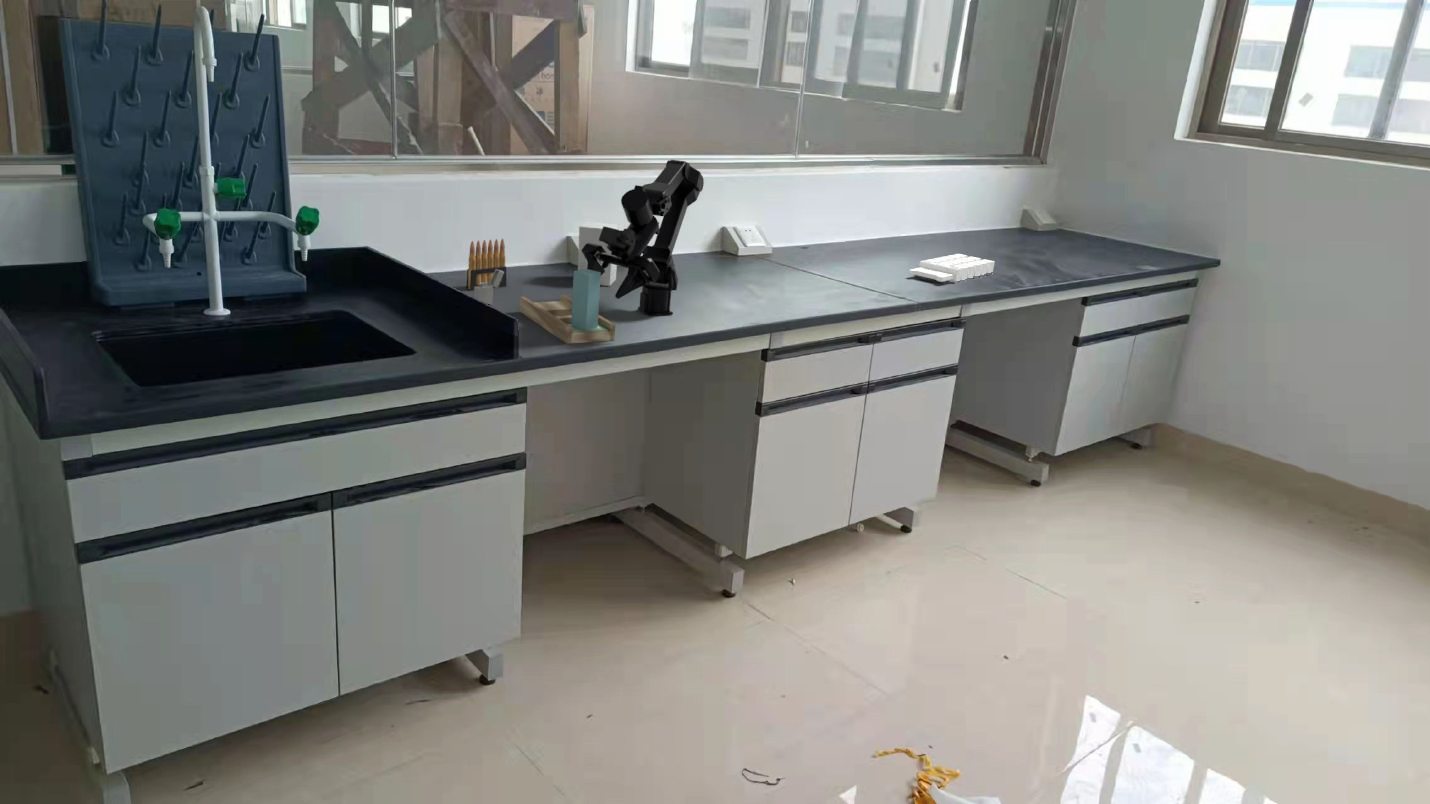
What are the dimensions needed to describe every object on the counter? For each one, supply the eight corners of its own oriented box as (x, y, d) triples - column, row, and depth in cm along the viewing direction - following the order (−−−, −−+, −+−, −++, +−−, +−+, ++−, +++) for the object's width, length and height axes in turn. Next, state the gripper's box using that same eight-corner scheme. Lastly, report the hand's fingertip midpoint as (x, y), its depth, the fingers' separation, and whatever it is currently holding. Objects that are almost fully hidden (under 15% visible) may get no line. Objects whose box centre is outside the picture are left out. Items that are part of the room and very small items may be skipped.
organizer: (994, 261, 326) (945, 272, 300) (992, 275, 328) (942, 288, 301) (958, 253, 334) (907, 263, 307) (955, 267, 335) (904, 279, 309)
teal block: (582, 323, 216) (585, 268, 212) (597, 327, 214) (600, 272, 210) (571, 326, 212) (573, 271, 208) (586, 330, 210) (589, 274, 206)
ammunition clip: (470, 291, 242) (471, 242, 238) (466, 289, 243) (466, 240, 239) (506, 286, 250) (508, 238, 246) (502, 284, 251) (503, 237, 247)
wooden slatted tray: (564, 309, 234) (564, 294, 233) (614, 340, 214) (615, 324, 213) (519, 311, 228) (520, 296, 227) (567, 343, 208) (567, 327, 207)
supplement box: (616, 279, 268) (620, 224, 264) (610, 286, 260) (613, 229, 255) (583, 275, 269) (586, 220, 264) (576, 282, 261) (578, 225, 256)
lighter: (478, 306, 229) (478, 272, 226) (473, 304, 230) (474, 270, 228) (503, 303, 234) (504, 269, 232) (499, 301, 235) (499, 268, 233)
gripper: (589, 205, 218) (551, 261, 213) (655, 220, 208) (616, 279, 203) (611, 238, 227) (575, 292, 222) (675, 254, 217) (639, 310, 212)
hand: (600, 293), depth 214 cm, fingers open, 9 cm apart
